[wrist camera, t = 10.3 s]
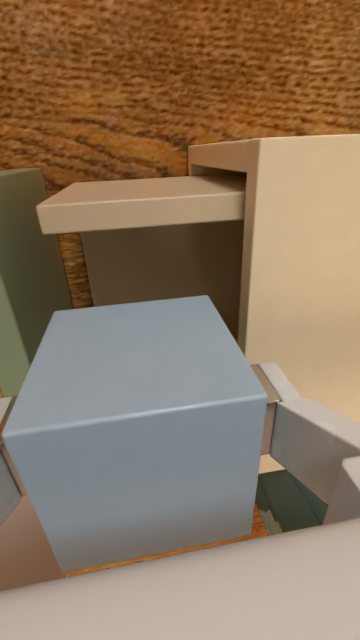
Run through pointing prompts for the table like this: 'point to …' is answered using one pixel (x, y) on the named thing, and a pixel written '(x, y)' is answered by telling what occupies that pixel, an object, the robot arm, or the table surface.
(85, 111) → the table surface
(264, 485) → the can
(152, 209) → the drawer
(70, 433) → the block
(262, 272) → the cabinet
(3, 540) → the mug
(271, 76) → the table surface
